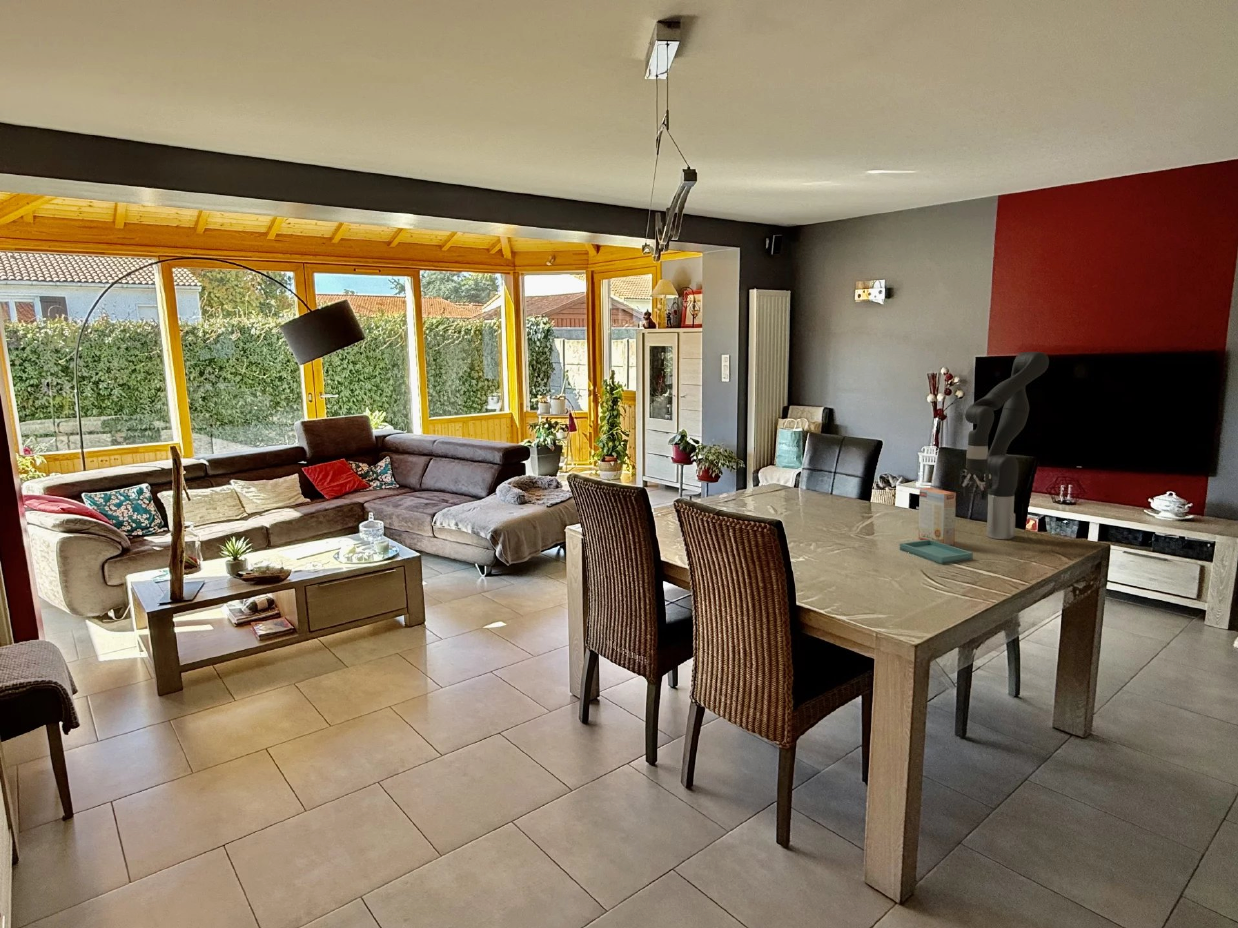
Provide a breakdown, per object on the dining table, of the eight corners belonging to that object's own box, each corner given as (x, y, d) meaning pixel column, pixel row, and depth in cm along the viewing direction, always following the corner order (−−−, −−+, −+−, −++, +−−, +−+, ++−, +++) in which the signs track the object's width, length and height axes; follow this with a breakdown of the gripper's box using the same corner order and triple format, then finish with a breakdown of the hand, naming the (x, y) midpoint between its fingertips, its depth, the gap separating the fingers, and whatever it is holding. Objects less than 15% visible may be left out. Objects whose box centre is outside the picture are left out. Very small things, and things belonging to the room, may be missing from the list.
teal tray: (929, 545, 287) (929, 539, 287) (972, 559, 266) (972, 552, 266) (899, 549, 283) (899, 543, 282) (941, 564, 262) (941, 557, 262)
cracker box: (955, 545, 286) (956, 492, 283) (942, 546, 284) (944, 494, 281) (930, 537, 299) (931, 486, 296) (917, 538, 297) (918, 488, 294)
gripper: (999, 458, 281) (996, 500, 283) (970, 454, 294) (968, 494, 297) (984, 459, 279) (981, 501, 281) (955, 455, 292) (953, 495, 294)
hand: (974, 497), depth 289 cm, fingers open, 8 cm apart
